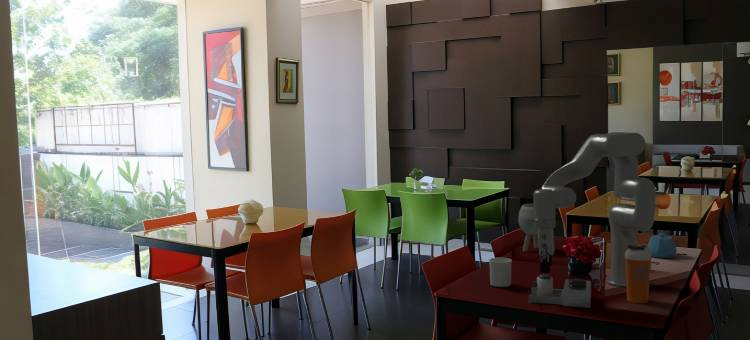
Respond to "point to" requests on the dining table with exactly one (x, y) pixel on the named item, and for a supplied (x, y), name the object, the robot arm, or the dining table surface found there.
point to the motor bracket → (567, 294)
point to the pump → (544, 285)
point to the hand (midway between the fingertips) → (546, 269)
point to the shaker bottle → (637, 273)
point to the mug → (500, 272)
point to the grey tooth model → (528, 225)
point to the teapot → (662, 246)
